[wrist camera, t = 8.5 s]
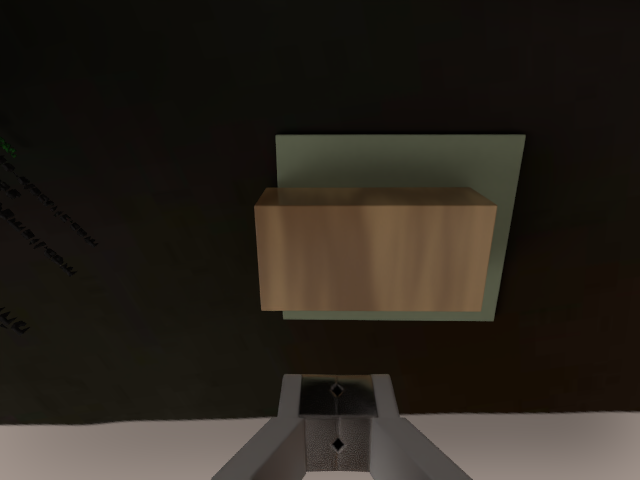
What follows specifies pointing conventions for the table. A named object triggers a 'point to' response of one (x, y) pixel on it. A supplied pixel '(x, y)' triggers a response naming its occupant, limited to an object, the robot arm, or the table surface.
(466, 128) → the table surface
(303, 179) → the mat
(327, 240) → the block
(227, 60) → the table surface
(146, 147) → the table surface
